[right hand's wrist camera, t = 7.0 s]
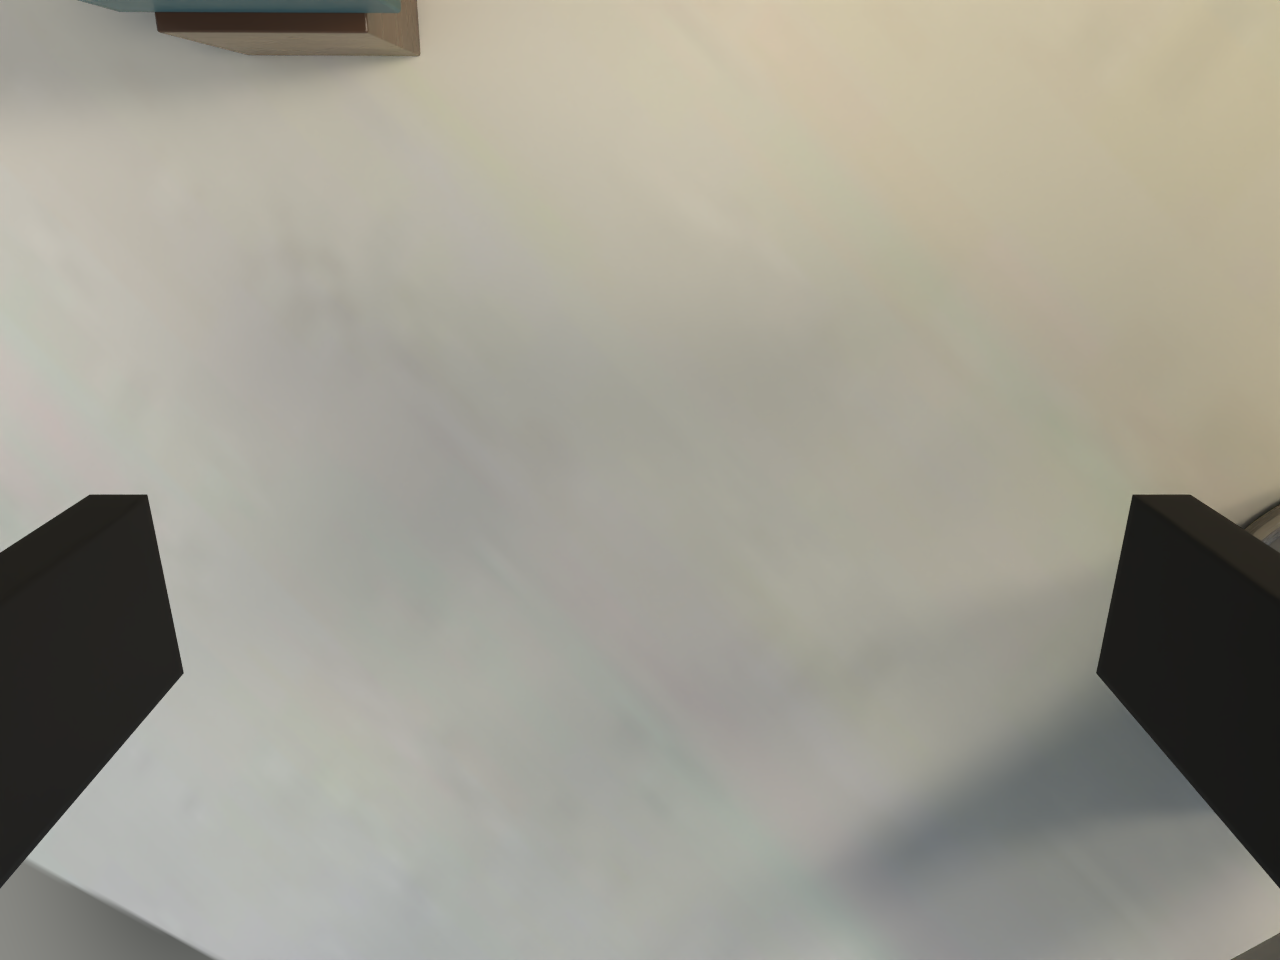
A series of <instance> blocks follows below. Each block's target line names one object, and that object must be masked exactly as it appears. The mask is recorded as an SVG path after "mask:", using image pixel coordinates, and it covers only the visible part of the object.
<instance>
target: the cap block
mask: <svg viewBox="0 0 1280 960" xmlns="http://www.w3.org/2000/svg"><path fill="white" fill-rule="evenodd" d="M79 1H82V2H86V3H90V4H93V5H97V6H101V7H104V8H108V9H112V10H115V11H119V12H273V13H399V12H400V11H401V3H400V0H79Z"/></svg>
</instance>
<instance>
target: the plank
mask: <svg viewBox="0 0 1280 960" xmlns="http://www.w3.org/2000/svg"><path fill="white" fill-rule="evenodd" d="M400 3H401V11H400V12H399V13H273V12H155V17H156V24H157V30H158V32H160V33H164V34H168V35H172V36H176V37H180V38H184V39H188V40H192V41H195V42H199V43H203V44H207V45H211V46H215V47H219V48H223V49H227V50H231V51H235V52H239V53H243V54H247V55H340V56H419V55H420V42H419V27H418V12H417V0H400Z"/></svg>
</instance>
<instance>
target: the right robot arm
mask: <svg viewBox="0 0 1280 960" xmlns="http://www.w3.org/2000/svg"><path fill="white" fill-rule="evenodd" d="M183 673H184V672H183V667H182V663H181V658H180V653H179V648H178V643H177V638H176V633H175V628H174V623H173V618H172V614H171V609H170V604H169V599H168V594H167V589H166V584H165V579H164V574H163V569H162V564H161V560H160V555H159V550H158V545H157V540H156V535H155V530H154V525H153V520H152V515H151V510H150V506H149V501H148V496H147V495H89V496H87V497H85V498H84V499H82V500H81V501H79V502H78V503H76V504H75V505H73V506H72V507H70V508H68V509H67V510H65V511H64V512H62V513H61V514H59V515H58V516H56V517H55V518H53V519H52V520H50V521H48V522H47V523H45V524H44V525H42V526H41V527H39V528H38V529H36V530H35V531H33V532H31V533H30V534H28V535H27V536H25V537H24V538H22V539H21V540H19V541H18V542H16V543H15V544H13V545H11V546H10V547H8V548H7V549H5V550H4V551H2V552H1V553H0V888H1V887H2V886H3V884H4V883H5V882H6V881H7V880H8V879H9V877H10V876H11V875H12V874H13V873H14V872H15V870H16V869H17V868H18V867H19V866H20V865H21V863H22V862H23V861H24V860H25V859H26V857H27V856H28V855H29V854H30V853H31V852H32V850H33V849H34V848H35V847H36V846H37V845H38V843H39V842H40V841H41V840H42V839H43V838H44V836H45V835H46V834H47V833H48V832H49V830H50V829H51V828H52V827H53V826H54V825H55V823H56V822H57V821H58V820H59V819H60V818H61V816H62V815H63V814H64V813H65V812H66V811H67V809H68V808H69V807H70V806H71V805H72V804H73V802H74V801H75V800H76V799H77V798H78V796H79V795H80V794H81V793H82V792H83V791H84V789H85V788H86V787H87V786H88V785H89V784H90V782H91V781H92V780H93V779H94V778H95V777H96V775H97V774H98V773H99V772H100V771H101V769H102V768H103V767H104V766H105V765H106V764H107V762H108V761H109V760H110V759H111V758H112V757H113V755H114V754H115V753H116V752H117V751H118V750H119V748H120V747H121V746H122V745H123V744H124V742H125V741H126V740H127V739H128V738H129V737H130V735H131V734H132V733H133V732H134V731H135V730H136V728H137V727H138V726H139V725H140V724H141V723H142V721H143V720H144V719H145V718H146V717H147V716H148V714H149V713H150V712H151V711H152V710H153V708H154V707H155V706H156V705H157V704H158V703H159V701H160V700H161V699H162V698H163V697H164V696H165V694H166V693H167V692H168V691H169V690H170V689H171V687H172V686H173V685H174V684H175V683H176V681H177V680H178V679H179V678H180V677H181V676H182V674H183ZM1096 673H1097V674H1098V676H1099V677H1100V678H1101V679H1102V680H1103V681H1104V683H1105V684H1106V685H1107V686H1108V687H1109V689H1110V690H1111V691H1112V692H1113V693H1114V694H1115V696H1116V697H1117V698H1118V699H1119V700H1120V701H1121V703H1122V704H1123V705H1124V706H1125V707H1126V708H1127V710H1128V711H1129V712H1130V713H1131V714H1132V716H1133V717H1134V718H1135V719H1136V720H1137V721H1138V723H1139V724H1140V725H1141V726H1142V727H1143V728H1144V730H1145V731H1146V732H1147V733H1148V734H1149V735H1150V737H1151V738H1152V739H1153V740H1154V741H1155V743H1156V744H1157V745H1158V746H1159V747H1160V748H1161V750H1162V751H1163V752H1164V753H1165V754H1166V755H1167V757H1168V758H1169V759H1170V760H1171V761H1172V762H1173V764H1174V765H1175V766H1176V767H1177V768H1178V769H1179V771H1180V772H1181V773H1182V774H1183V775H1184V777H1185V778H1186V779H1187V780H1188V781H1189V782H1190V784H1191V785H1192V786H1193V787H1194V788H1195V789H1196V791H1197V792H1198V793H1199V794H1200V795H1201V796H1202V798H1203V799H1204V800H1205V801H1206V802H1207V804H1208V805H1209V806H1210V807H1211V808H1212V809H1213V811H1214V812H1215V813H1216V814H1217V815H1218V816H1219V818H1220V819H1221V820H1222V821H1223V822H1224V823H1225V825H1226V826H1227V827H1228V828H1229V829H1230V831H1231V832H1232V833H1233V834H1234V835H1235V836H1236V838H1237V839H1238V840H1239V841H1240V842H1241V843H1242V845H1243V846H1244V847H1245V848H1246V849H1247V850H1248V852H1249V853H1250V854H1251V855H1252V856H1253V857H1254V859H1255V860H1256V861H1257V862H1258V863H1259V865H1260V866H1261V867H1262V868H1263V869H1264V870H1265V872H1266V873H1267V874H1268V875H1269V876H1270V877H1271V879H1272V880H1273V881H1274V882H1275V883H1276V884H1277V886H1278V887H1279V888H1280V505H1278V506H1277V507H1275V508H1273V509H1271V510H1270V511H1268V512H1267V513H1266V514H1264V515H1263V516H1261V517H1260V518H1258V519H1257V520H1255V521H1254V522H1253V523H1251V524H1250V525H1249V526H1248V527H1247V528H1245V529H1242V528H1241V527H1239V526H1238V525H1236V524H1235V523H1233V522H1232V521H1230V520H1228V519H1227V518H1225V517H1224V516H1222V515H1221V514H1219V513H1218V512H1216V511H1215V510H1213V509H1212V508H1210V507H1208V506H1207V505H1205V504H1204V503H1202V502H1201V501H1199V500H1198V499H1196V498H1195V497H1193V496H1191V495H1133V496H1132V501H1131V506H1130V510H1129V515H1128V520H1127V525H1126V530H1125V535H1124V540H1123V545H1122V550H1121V555H1120V560H1119V564H1118V569H1117V574H1116V579H1115V584H1114V589H1113V594H1112V599H1111V604H1110V609H1109V614H1108V618H1107V623H1106V628H1105V633H1104V638H1103V643H1102V648H1101V653H1100V658H1099V663H1098V667H1097V672H1096ZM1231 960H1280V933H1279V934H1277V935H1275V936H1273V937H1272V938H1270V939H1268V940H1266V941H1264V942H1262V943H1261V944H1259V945H1257V946H1255V947H1253V948H1251V949H1250V950H1248V951H1246V952H1244V953H1242V954H1240V955H1239V956H1237V957H1235V958H1233V959H1231Z"/></svg>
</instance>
